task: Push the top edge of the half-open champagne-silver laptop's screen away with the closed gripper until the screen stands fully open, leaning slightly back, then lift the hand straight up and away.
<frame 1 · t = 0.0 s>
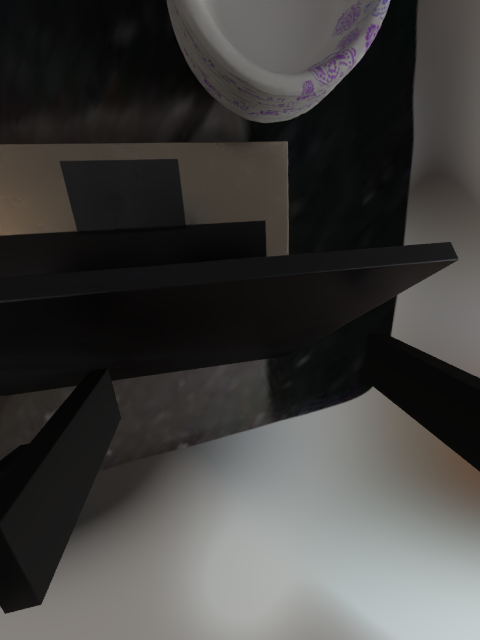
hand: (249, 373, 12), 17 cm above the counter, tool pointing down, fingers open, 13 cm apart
laptop screen: (127, 352, 17), point 11 cm above the counter, hinge at 55.0°
paper bowls: (257, 38, 22), on the counter
laptop: (144, 267, 26), on the counter
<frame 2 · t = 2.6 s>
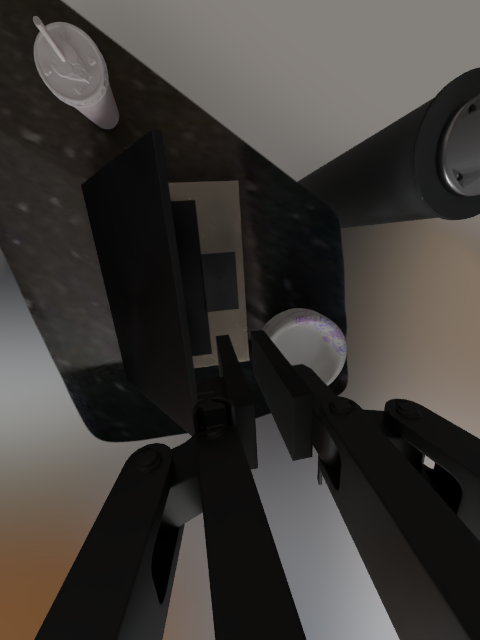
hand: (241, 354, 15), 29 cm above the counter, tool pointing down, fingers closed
smoothie: (105, 113, 33), on the counter
laptop screen: (138, 301, 31), point 11 cm above the counter, hinge at 55.0°
paper bowls: (288, 340, 48), on the counter
laptop: (181, 284, 41), on the counter
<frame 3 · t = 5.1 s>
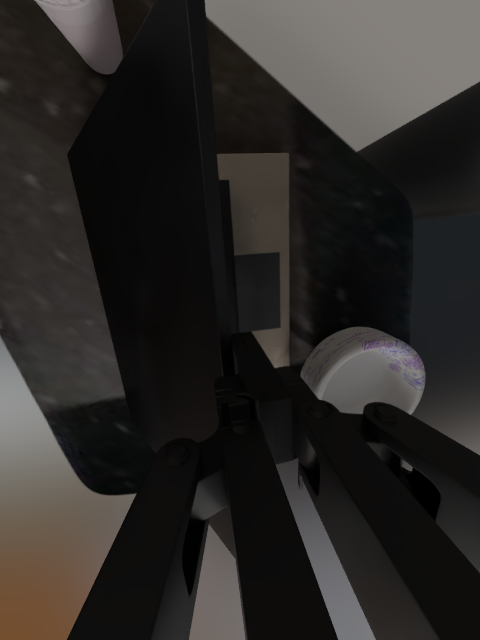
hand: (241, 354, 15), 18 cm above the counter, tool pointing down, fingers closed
smoothie: (102, 51, 23), on the counter
laptop screen: (146, 328, 20), point 11 cm above the counter, hinge at 57.4°, touching gripper
paper bowls: (337, 365, 38), on the counter
laptop: (205, 296, 31), on the counter
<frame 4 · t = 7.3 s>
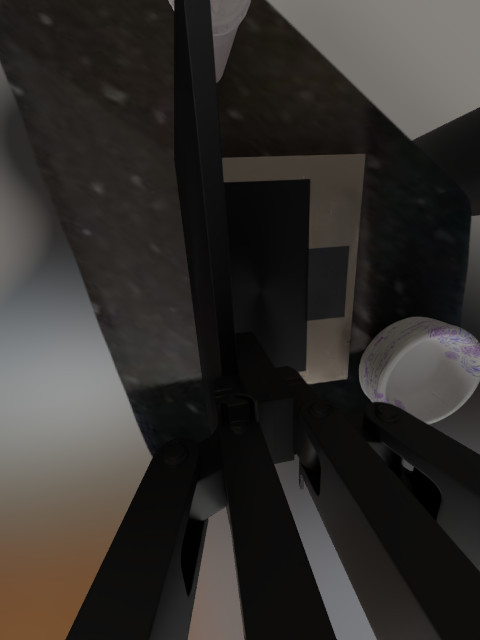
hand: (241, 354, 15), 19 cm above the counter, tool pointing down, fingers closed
smoothie: (206, 65, 26), on the counter
laptop screen: (205, 320, 21), point 12 cm above the counter, hinge at 83.7°, touching gripper
paper bowls: (390, 354, 40), on the counter
laptop: (276, 286, 34), on the counter
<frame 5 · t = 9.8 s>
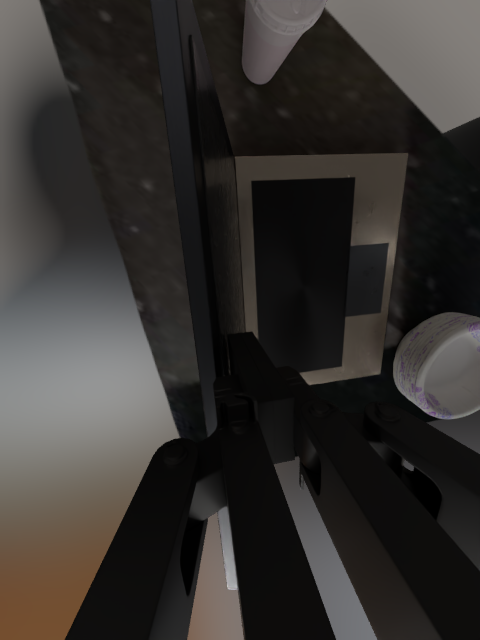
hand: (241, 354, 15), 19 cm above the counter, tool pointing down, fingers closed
smoothie: (258, 64, 26), on the counter
laptop screen: (231, 318, 21), point 12 cm above the counter, hinge at 102.9°, touching gripper
paper bowls: (419, 350, 41), on the counter
laptop: (314, 283, 34), on the counter
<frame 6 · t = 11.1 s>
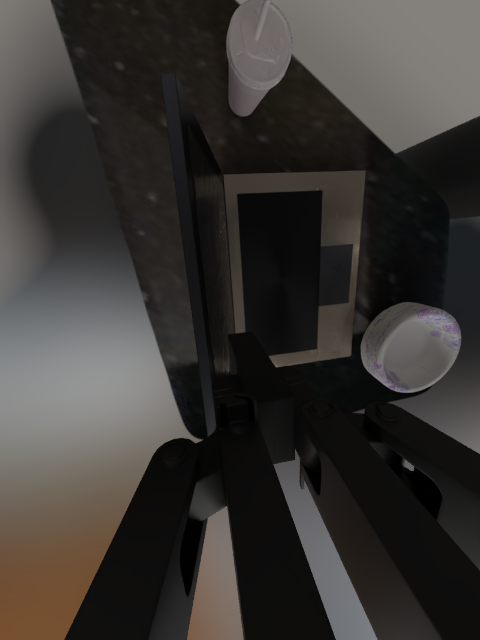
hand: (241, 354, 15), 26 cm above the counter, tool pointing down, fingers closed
smoothie: (242, 100, 32), on the counter
laptop screen: (220, 302, 27), point 12 cm above the counter, hinge at 102.9°
paper bowls: (385, 336, 47), on the counter
laptop: (292, 278, 41), on the counter
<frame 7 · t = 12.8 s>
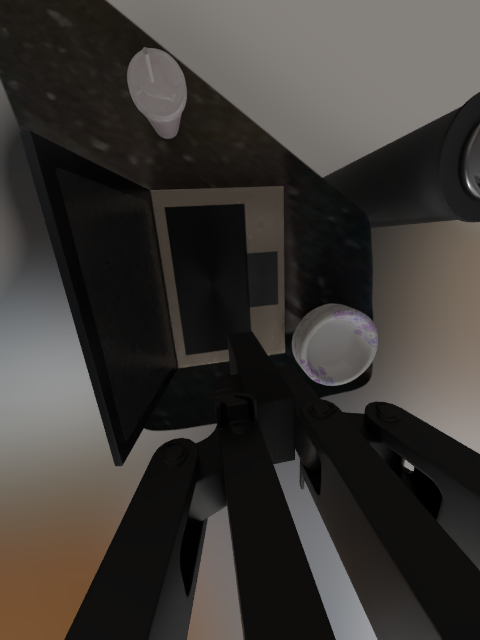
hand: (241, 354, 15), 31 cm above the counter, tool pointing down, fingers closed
smoothie: (166, 125, 36), on the counter
laptop screen: (135, 304, 31), point 12 cm above the counter, hinge at 102.9°
paper bowls: (319, 334, 52), on the counter
laptop: (226, 281, 45), on the counter
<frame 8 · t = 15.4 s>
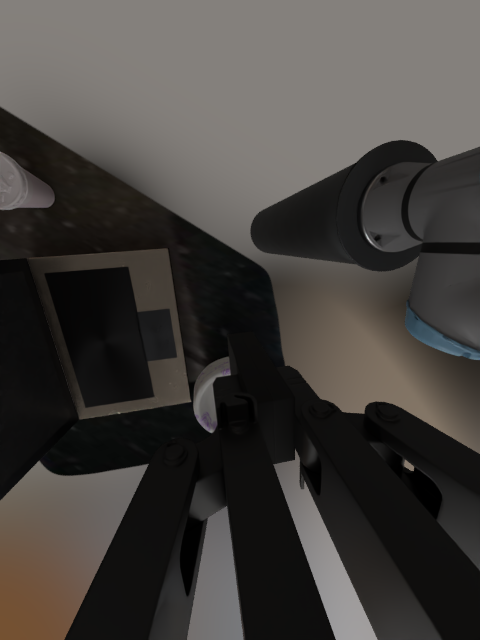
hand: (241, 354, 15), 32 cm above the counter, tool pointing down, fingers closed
smoothie: (41, 194, 37), on the counter
paper bowls: (230, 381, 52), on the counter
laptop: (123, 336, 45), on the counter
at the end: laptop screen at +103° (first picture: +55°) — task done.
